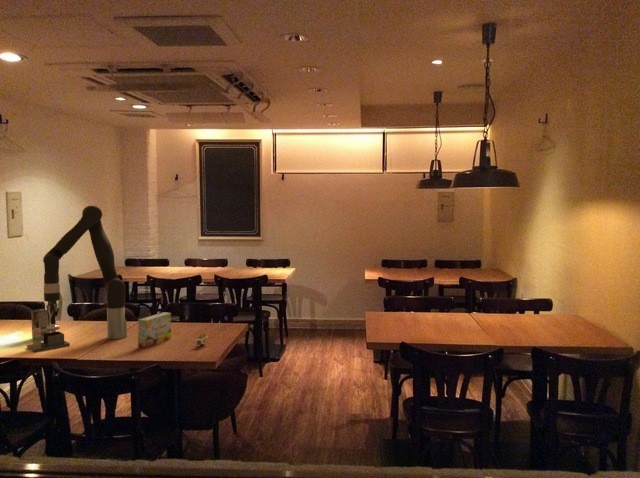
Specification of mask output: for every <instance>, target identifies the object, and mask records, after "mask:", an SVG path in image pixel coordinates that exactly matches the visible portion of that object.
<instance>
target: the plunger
mask: <svg viewBox="0 0 640 478" xmlns="http://www.w3.org/2000/svg"><path fill="white" fill-rule="evenodd" d="M46 330H48V331H50V333H52V334H53V333H56V332H57V331H59V330H60V324H58V323H56V324H53V325H52V324H50V325H47V329H40V330H35V332H40V331H46Z"/></svg>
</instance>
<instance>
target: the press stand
mask: <svg viewBox="0 0 640 478" xmlns="http://www.w3.org/2000/svg"><path fill="white" fill-rule="evenodd" d="M40 329H41V328H34V329H33V339H32V343H30V344H27V345H26V349H28V350H30V351H31V350H32V351H31V352H33V353H34V352H35V353H40V352H44V351H45V350H46V351H50V350H57V349H60V348H68V347H70V346H71V343H70V342H68V341H67V340H65V333H63V332H62V331H59V330H56V333H53V334H52V333H51V332H50V333H45V334H43V341H41V331H40V335H35V333H36V332H35V330H40ZM56 348H57V349H56Z"/></svg>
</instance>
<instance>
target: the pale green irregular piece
mask: <svg viewBox="0 0 640 478" xmlns="http://www.w3.org/2000/svg"><path fill="white" fill-rule="evenodd" d="M207 338H209V335H208V334H207V333H206V332H202V333H200V334H199V335H197V337H196V338H194V341H196V347H197V346H198V345H200V344H201V343H203V345H204V343H206V340H207ZM206 344H207V343H206Z"/></svg>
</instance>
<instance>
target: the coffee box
mask: <svg viewBox="0 0 640 478" xmlns="http://www.w3.org/2000/svg"><path fill="white" fill-rule="evenodd" d="M30 311H31V312H30V313H31V314H30V315H31V333H32V334H31V337H32V340H33V329H34V328H41V329H47V325H51V324H50V317H49V315H48V312H47V309H46V308H38V309H33V310H30ZM45 333H51V331H48V330H46V331H41V342H43V334H45Z"/></svg>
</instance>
